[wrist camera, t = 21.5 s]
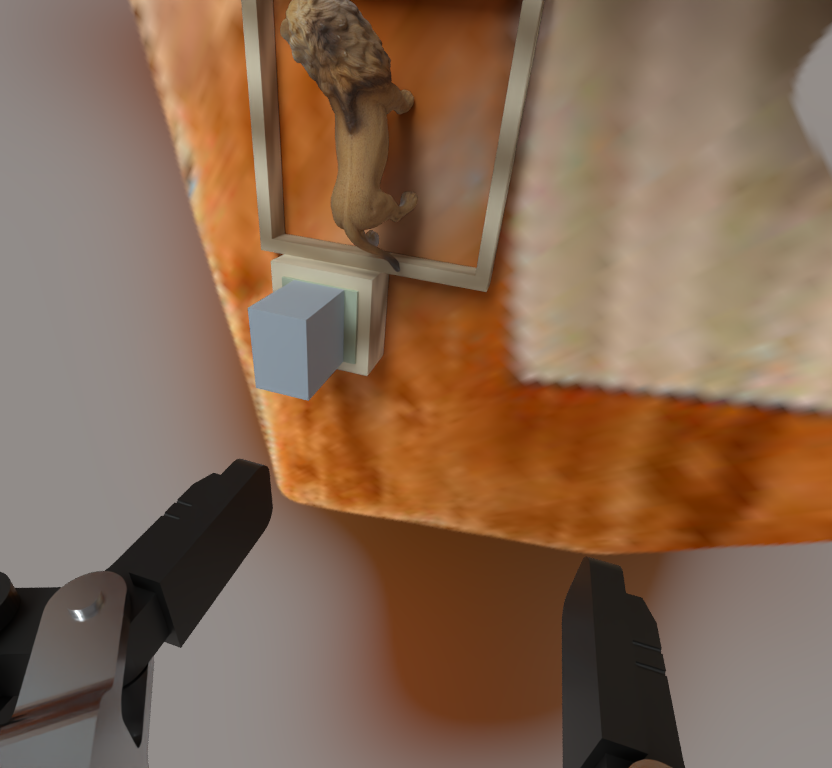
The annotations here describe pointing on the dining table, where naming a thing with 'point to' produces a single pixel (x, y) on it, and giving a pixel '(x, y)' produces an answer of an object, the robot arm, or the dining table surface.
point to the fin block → (297, 338)
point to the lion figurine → (352, 110)
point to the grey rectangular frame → (350, 264)
